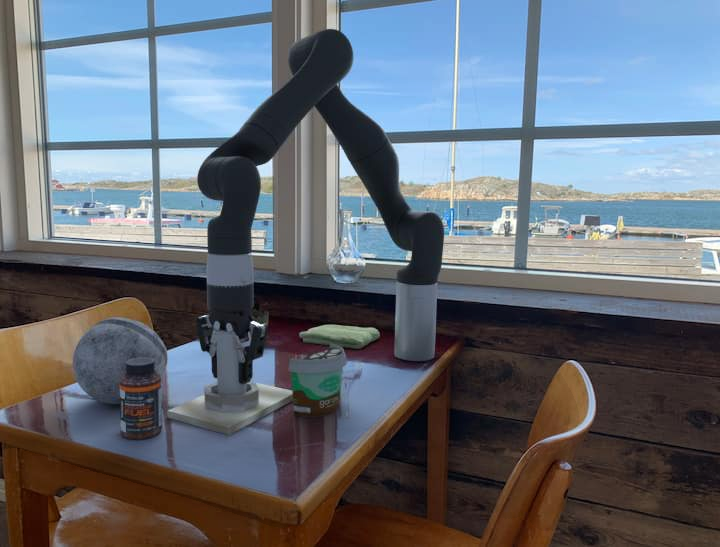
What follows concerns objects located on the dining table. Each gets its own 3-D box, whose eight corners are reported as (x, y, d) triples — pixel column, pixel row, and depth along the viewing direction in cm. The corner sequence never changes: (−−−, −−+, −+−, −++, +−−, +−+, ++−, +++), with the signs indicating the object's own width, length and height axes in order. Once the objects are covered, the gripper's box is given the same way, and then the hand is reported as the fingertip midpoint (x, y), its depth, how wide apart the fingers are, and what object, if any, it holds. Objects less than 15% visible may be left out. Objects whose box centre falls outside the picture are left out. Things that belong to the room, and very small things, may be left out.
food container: (318, 426, 88) (319, 365, 87) (288, 417, 92) (288, 358, 90) (359, 402, 99) (360, 348, 97) (331, 395, 102) (331, 342, 100)
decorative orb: (182, 391, 102) (180, 311, 100) (135, 422, 88) (132, 330, 86) (110, 384, 105) (107, 306, 103) (54, 413, 91) (49, 324, 89)
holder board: (240, 385, 106) (240, 366, 106) (296, 398, 100) (296, 378, 100) (167, 417, 90) (167, 395, 90) (229, 435, 84) (229, 411, 84)
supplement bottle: (120, 443, 81) (117, 368, 79) (120, 427, 86) (117, 357, 85) (164, 437, 83) (162, 364, 82) (161, 422, 89) (159, 353, 87)
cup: (275, 344, 136) (275, 312, 135) (254, 350, 130) (254, 317, 128) (252, 339, 140) (252, 308, 139) (231, 345, 133) (230, 313, 132)
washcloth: (321, 331, 151) (321, 320, 150) (381, 339, 143) (382, 327, 143) (296, 343, 139) (296, 330, 138) (360, 352, 132) (360, 339, 131)
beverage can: (239, 404, 91) (238, 333, 90) (212, 401, 92) (211, 331, 91) (251, 394, 96) (250, 326, 94) (225, 391, 97) (224, 324, 95)
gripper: (279, 281, 91) (279, 380, 94) (213, 274, 98) (214, 367, 100) (250, 287, 85) (251, 394, 87) (181, 279, 91) (184, 379, 94)
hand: (231, 379), depth 94 cm, fingers open, 5 cm apart
